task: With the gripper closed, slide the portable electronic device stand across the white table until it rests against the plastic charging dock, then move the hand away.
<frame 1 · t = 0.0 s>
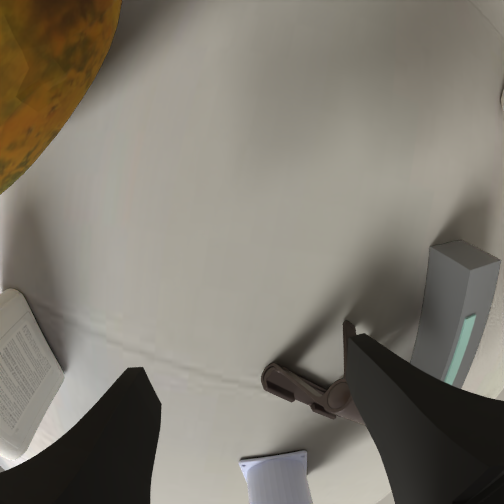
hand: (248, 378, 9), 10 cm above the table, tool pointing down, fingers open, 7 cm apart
portable electronic device stand: (326, 361, 22), on the table
pumpkin: (42, 69, 13), on the table
white labeled box: (33, 335, 20), on the table
charging dock: (432, 332, 22), on the table
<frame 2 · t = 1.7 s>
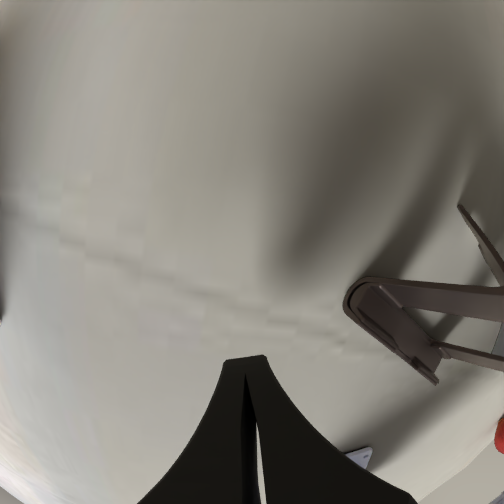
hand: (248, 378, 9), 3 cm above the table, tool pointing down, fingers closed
portable electronic device stand: (431, 283, 13), on the table
onion: (499, 419, 23), on the table
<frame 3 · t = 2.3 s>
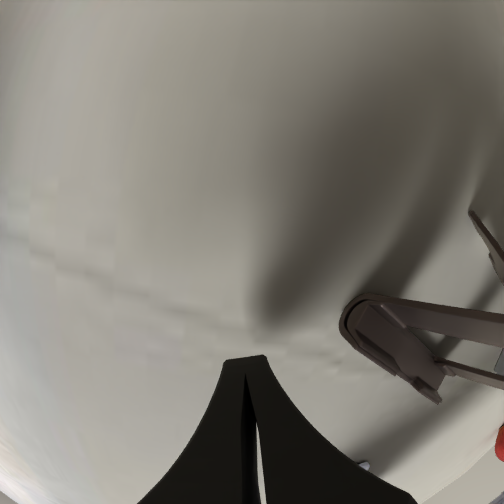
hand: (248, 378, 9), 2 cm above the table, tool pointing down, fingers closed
portable electronic device stand: (437, 296, 12), on the table
onion: (500, 426, 22), on the table
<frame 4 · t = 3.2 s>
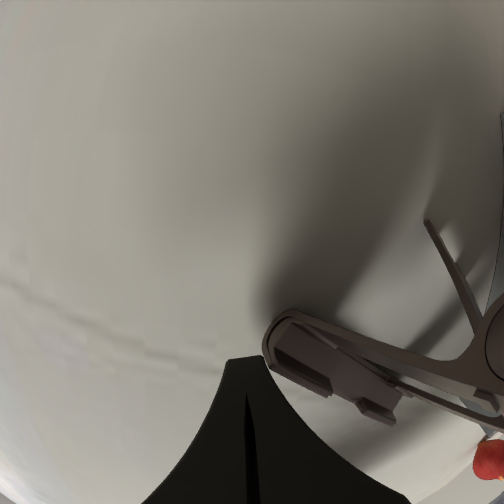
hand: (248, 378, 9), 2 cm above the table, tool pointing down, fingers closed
portable electronic device stand: (388, 312, 11), on the table, touching gripper
onion: (480, 441, 21), on the table
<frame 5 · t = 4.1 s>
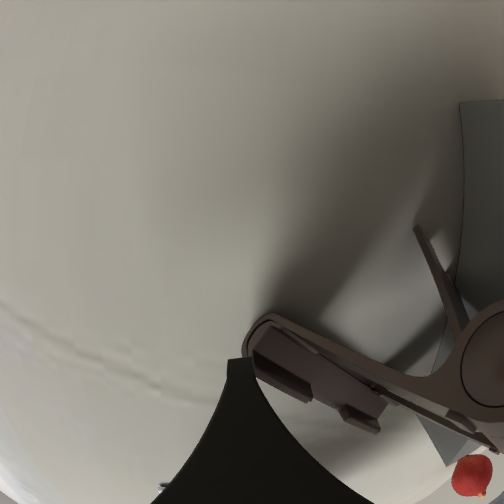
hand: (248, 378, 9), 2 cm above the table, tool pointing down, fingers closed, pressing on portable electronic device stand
portable electronic device stand: (374, 319, 11), on the table, touching charging dock, gripper
onion: (460, 455, 21), on the table
charging dock: (476, 289, 11), on the table
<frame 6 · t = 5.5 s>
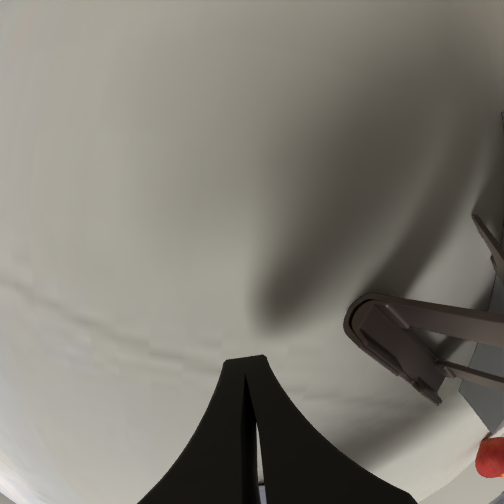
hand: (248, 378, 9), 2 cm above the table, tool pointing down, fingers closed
portable electronic device stand: (439, 298, 12), on the table
onion: (482, 439, 21), on the table
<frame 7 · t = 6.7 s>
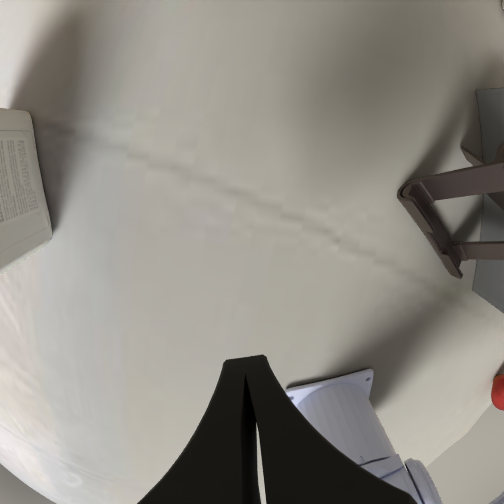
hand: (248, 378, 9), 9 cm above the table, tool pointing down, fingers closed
portable electronic device stand: (448, 198, 18), on the table
onion: (494, 376, 28), on the table
white labeled box: (25, 179, 15), on the table
charging dock: (495, 194, 18), on the table
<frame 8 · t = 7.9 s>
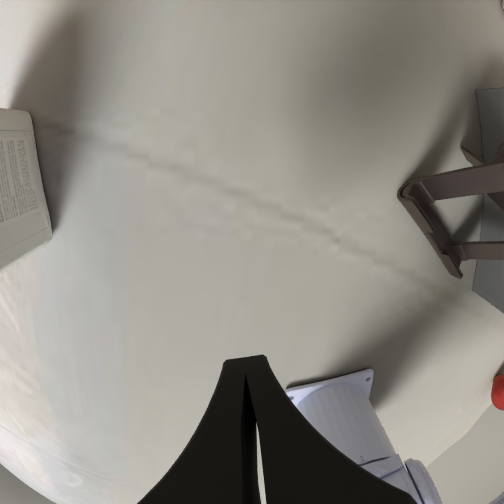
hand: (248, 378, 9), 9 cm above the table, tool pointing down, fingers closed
portable electronic device stand: (448, 198, 18), on the table
onion: (494, 376, 28), on the table
white labeled box: (25, 179, 15), on the table
charging dock: (495, 194, 18), on the table
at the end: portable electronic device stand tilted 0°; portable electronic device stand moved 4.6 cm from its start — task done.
